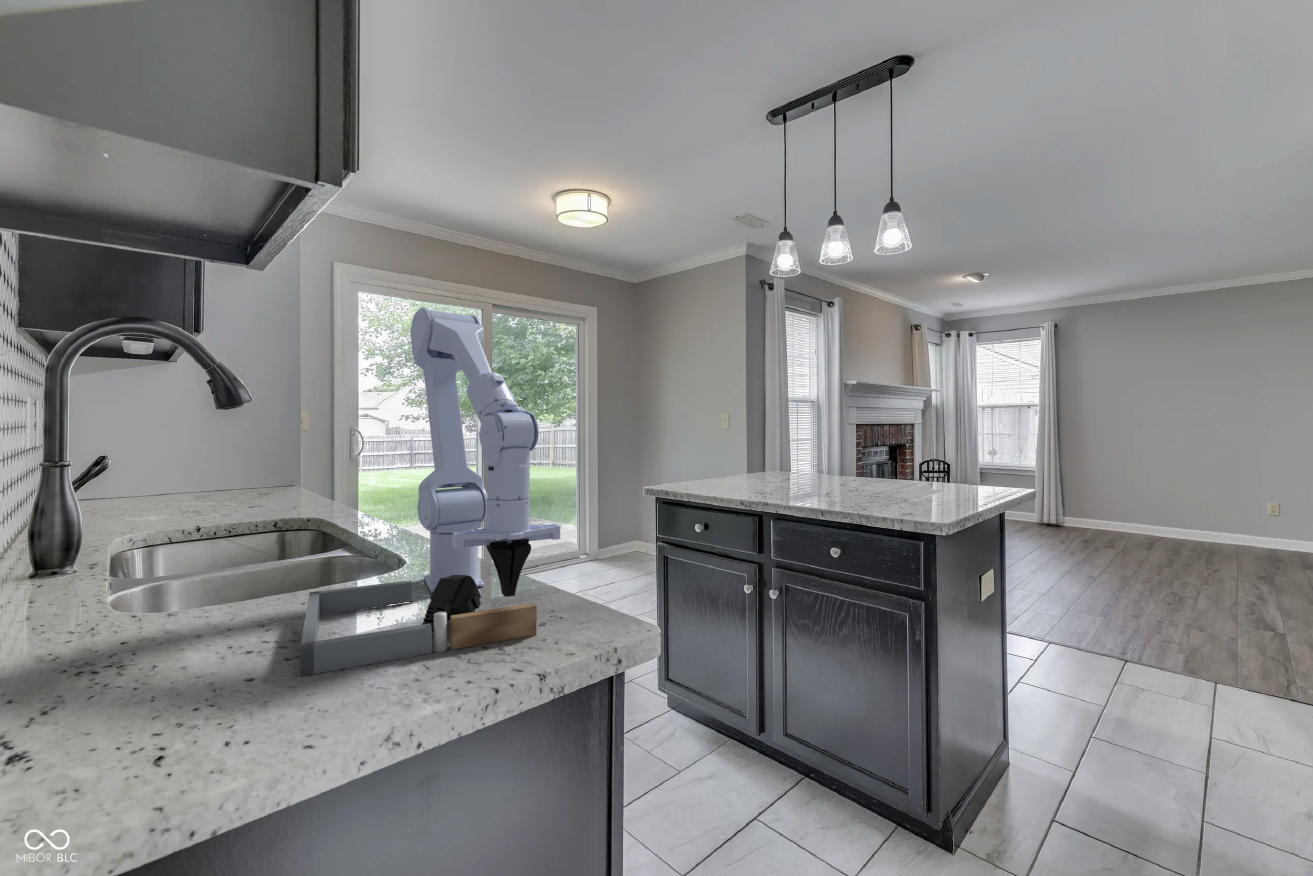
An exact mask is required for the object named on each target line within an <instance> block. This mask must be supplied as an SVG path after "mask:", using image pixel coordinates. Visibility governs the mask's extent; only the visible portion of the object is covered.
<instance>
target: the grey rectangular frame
mask: <svg viewBox="0 0 1313 876" xmlns="http://www.w3.org/2000/svg"><path fill="white" fill-rule="evenodd" d="M307 599H308V600H307V605H306V612H305V616H304V621H303V630H302V633H301V641H300V645H299V648H300V649H299V654H300V655H299V663H300V665H299V666H300V667H299V671H300V673H299V674H300V675H299V677H303V676H308V675H309V676H311V675H315V674H322V673H327V672H332V671H337V670H345V669H350V668H354V667H355V668H356V667H361V666H366V665H370V664H371V665H372V664H378V663H383V662H388V661H393V660H394V661H395V660H400V659H405V658H411V657H417V656H422V655H427V654H432V652H435V653H442V652H445V651H447V649H448V630H447V629H448V628H447V627H448V622H447V613H446V612H437V613H435V614H434V632H432V626H431V624H424V625H422V624H419V625H418V624H417V625H413V626H412V625H411V626H406V627H399V628H392V629H388V630H386V629H385V630H379V631H374V632H367V633H361V634H353V635H349V636H341V637H334V638H328V639H322V640H318V636H319V628H320V627H319V626H320V619H321V618H320V616H326V615H327V616H328V615H333V614H335V615H336V614H341V613H348V612H355V611H356V610H357V611H362V610H361V609H364V610H368V609H367V608H371V609H374V608H373V607H379V608H382V607H381V606H386V607H388V606H387V605H390V604H398V603H404V602H411V601H412V602H413V581H412V580H402V581H394V582H387V583H386V582H385V583H378V584H367V585H361V586H353V587H351V586H350V587H343V588H337V589H335V588H333V589H326V590H318V591H310V592H308V598H307ZM432 633H433V635H432ZM432 637H433V639H432ZM432 641H433V642H432ZM432 649H433V650H432Z"/></svg>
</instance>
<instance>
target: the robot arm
mask: <svg viewBox="0 0 1313 876" xmlns="http://www.w3.org/2000/svg"><path fill="white" fill-rule="evenodd" d="M409 332H410V341H411V342H410V344H411V350H412V356H413V363H414V365H416V366H418V367H419V368H420V369H422V370H423V379H424V386H425V387H424V388H425V395H426V404H427V414H428V420H429V421H428V423H429V432H430V439H431V441H430V442H431V447H432V448H431V449H432V454H433V455H432V457H433V465H434V470H433V471H432V472H431V473H429V475H427V476H426V477H425V478H423V479H422V481H421V482H420V483H419V484H418V490H417V491H418V501H417V517H418V520H419V523H420V525H421V526H422V527H423V528H424V530H426V531H429V574H425V575H423V580H424V579H425V580H424V582H425V581H426V582H425V583H427V584H426V585H428V586H427V587H429V588H428V590H429V591H430V593H433V591H434V590H435V588H436V586H437V584H438V582H439V580H440V578H445V577H449V576H451V575H468V576H471V577H472V578H473V579H474V581H475V583H476V585H477V586H480V587H484V586H485V582H484V581H483V580H482V579H481V578H480V577H479V575H478V547H481V546H485V547H486V550H487V552H488V554H489V556H490V558H491V560H492V562H493V564H494V567H495V570H496V573H497V576H498V580H499V584H500V589H501V591H500V592H501V594H502V596H504V597H505V598H506V597H507V598H508V597H509V598H510V597H513V596H516V592H517V586H518V582H519V580H520V576H521V573H522V571H523V568H524V565H525V564H526V561H527V559H528V557H529V555H530V554H531V551H532V544H530V542H533V541H545V540H553V541H555V540H557V541H558V540H560V539H561V526H560V525H558V524H556V523H551V524H549V523H548V524H530V510H531V509H530V507H531V506H530V501H531V500H530V496H531V495H530V493H531V491H530V489H531V488H530V485H531V483H530V482H531V479H530V478H531V477H530V476H531V475H530V473H531V469H530V468H531V462H530V461H531V455H530V454H531V451H533V450H534V449H535V448H536V446H537V443H538V440H539V433H540V432H539V425H538V422H537V419H536V417H535V414H534V413H533V412H532V411H529V410H525V408H524V407H521V406H520V405H519V404H518V403H517V401H516V399H515V397H514V395H513V394H512V391H511V389H510V388H509V386H508V384H507V382H506V380H505V378H504V377H503V376H502V375H501V374H499V373H495V372H493V371H492V369H491V366H490V364H489V360H488V358H487V356H486V354H485V350H484V348H483V341H484V327H483V324H482V322H481V319H480V318H479V317H478V316H477V315H473V314H470V315H466V314H459V313H453V312H446V311H442V310H441V311H440V310H434V309H427V308H425V307H421V308H419V309H418V310H417V311H416V312H415V313H414V314H413V317H412V320H411V325H410V331H409ZM460 371H462V372H463V374H464V375H465V377H466V378H467V380H468V385H467V387H466V395H467V398H468V399H469V402H470V404H471V406H472V408H473V410H474V412H475V415H476V416H477V418H478V420H479V423H480V427H479V431H478V438H479V439H478V440H479V443H480V446H481V449H482V455H483V456H482V457H483V458H482V459H483V463H484V465H486V466H487V472H486V473H487V474H486V475H487V477H486V478H487V479H486V480H487V481H486V482H487V484H486V485H487V489H486V488H485V485H484V480H483V477H482V476H481V475H480V474H479V473H477V472H476V471H474V470H473V469H471V468H470V467H468V463H467V462H468V461H467V454H466V446H465V439H464V432H463V431H464V429H463V422H462V415H461V407H460V399H459V390H458V383H457V382H458V381H457V375H458V372H460ZM485 521H487V524H486V525H487V526H486V527H483V526H482V524H483V523H485Z"/></svg>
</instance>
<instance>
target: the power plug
mask: <svg viewBox="0 0 1313 876" xmlns="http://www.w3.org/2000/svg"><path fill="white" fill-rule="evenodd" d="M481 598H482V595H481V592H480V590H479V589H478V587H477V585H476V583H475V581H474V579H473V578H472V577H471V576H468V575H451V576H449V577H445V578H440V580H439V582H438V584H437V586H436V588H435V590H434V591H433V592H431V595H430V597H429V599H430V602H429V604H428V605H427V609H426V613H425V614H424V618H423V622H422V624H421V625H424V624H431V626H432V633H434V614H435V613H437V612H446V613H447V623H449V622H450V616H452V615H458V614H465V613H472V612H476V610H478V609H480V606H481V603H482V602H481Z"/></svg>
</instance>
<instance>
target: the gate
mask: <svg viewBox="0 0 1313 876" xmlns="http://www.w3.org/2000/svg"><path fill="white" fill-rule="evenodd" d="M537 609H538V608H537V605H536V603H534V602H532V603H525V604H519V605H513V606H512V605H511V606H505V607H500V608H492V609H487V610H485V609H484V610H481V611H475V612H472V613H465V614H458V615H452V616H450V621H449V622H450V625H449V627H450V628H449V629H450V630H449V631H450V635H449V636H450V638H449V641H450V645H449V646H450V648H451V650H457V649H463V648H468V647H469V648H471V647H474V646H480V645H486V644H492V643H495V642H496V643H498V642H503V641H507V640H508V641H509V640H514V639H519V638H525V637H531V636H535V635H537V620H538V619H537V613H538V611H537Z"/></svg>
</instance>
